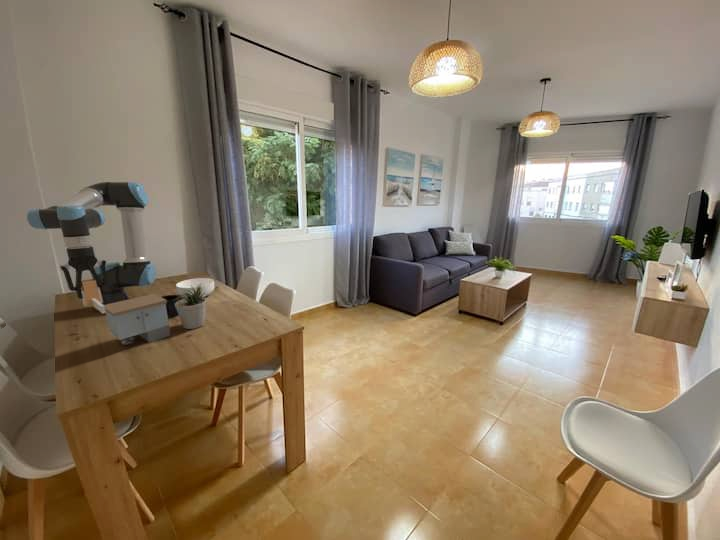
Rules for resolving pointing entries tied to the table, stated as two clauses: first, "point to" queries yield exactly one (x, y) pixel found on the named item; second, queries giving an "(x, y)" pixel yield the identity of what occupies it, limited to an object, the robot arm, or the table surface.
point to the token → (128, 341)
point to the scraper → (92, 294)
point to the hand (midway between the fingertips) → (93, 303)
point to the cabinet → (139, 318)
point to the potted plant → (192, 309)
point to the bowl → (195, 286)
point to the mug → (171, 305)
